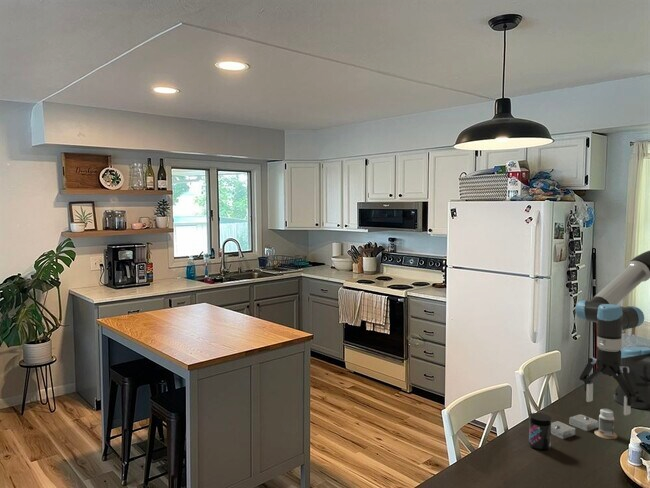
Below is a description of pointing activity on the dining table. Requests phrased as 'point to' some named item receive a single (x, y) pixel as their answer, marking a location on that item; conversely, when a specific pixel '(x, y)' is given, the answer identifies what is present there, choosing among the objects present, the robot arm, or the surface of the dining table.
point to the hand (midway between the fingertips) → (607, 407)
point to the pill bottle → (606, 422)
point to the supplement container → (540, 431)
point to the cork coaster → (604, 435)
